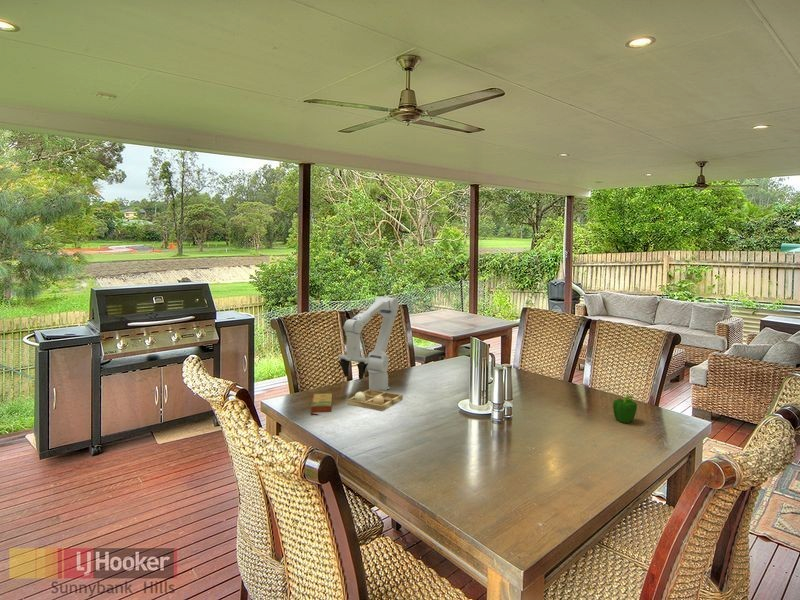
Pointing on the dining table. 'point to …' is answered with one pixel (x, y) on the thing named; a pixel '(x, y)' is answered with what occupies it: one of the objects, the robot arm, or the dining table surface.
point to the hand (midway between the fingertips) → (353, 377)
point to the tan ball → (378, 400)
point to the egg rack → (370, 394)
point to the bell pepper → (624, 409)
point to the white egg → (360, 396)
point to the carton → (321, 403)
